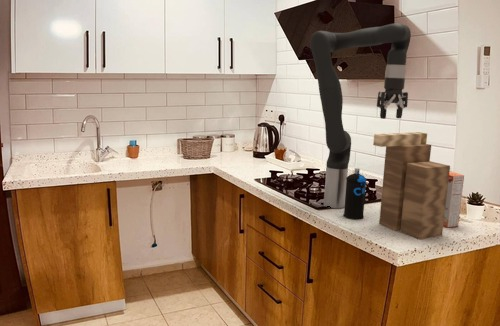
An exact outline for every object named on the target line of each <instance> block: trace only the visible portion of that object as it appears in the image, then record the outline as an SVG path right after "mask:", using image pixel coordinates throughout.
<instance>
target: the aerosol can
mask: <svg viewBox="0 0 500 326" xmlns="http://www.w3.org/2000/svg"><path fill="white" fill-rule="evenodd" d="M360 170H361V169H360V168H358V167H356V168H354V171H353V173H351V174H349V175H347V178H346V180H347V181H346V194H345V207H343V208H344V209H343V217H344V218H346V219H348V220H362V219H364V217H365V216H364V210H365V200H366V199H365V198H366V188H367V187H366V185H367V181H368V180H367V178H366V177H365V176H364V175H363V174H361V173H360Z"/></svg>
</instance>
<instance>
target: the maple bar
mask: <svg viewBox="0 0 500 326" xmlns="http://www.w3.org/2000/svg"><path fill="white" fill-rule="evenodd" d="M427 139H428V133H427V132H418V131H416V132H396V133H393V132H392V133H374V135H373V144H372V145H373V146H376V147H381V148H382V147H383V148H386V147H387V146H402V145H418V144H427V142H428V141H427Z"/></svg>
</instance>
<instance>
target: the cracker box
mask: <svg viewBox="0 0 500 326" xmlns="http://www.w3.org/2000/svg"><path fill="white" fill-rule="evenodd" d="M464 182H465V175H464V174H461V173H457V172H454V171H451V170H450V172H449V180H448V189H447V197H446V206H445V214H444V223H443V228H454V227H459V223H460V214H461V205H462V198H463V189H464Z"/></svg>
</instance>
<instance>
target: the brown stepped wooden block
mask: <svg viewBox="0 0 500 326" xmlns="http://www.w3.org/2000/svg"><path fill="white" fill-rule="evenodd" d="M431 152H432V144H429V143H426V144H418V145H402V146H387V147H385V154H384V155H385V156H384V166H383V176H382V177H383V179H382V189H381V198H380V199H381V200H380V209H379V210H380V211H379V220H378V221H379V222H378V224H379V225H380V226H383V227H386V228H387V229H390V230H393V231H395V232H400V233H402V234H405V235H407V236H410V237H411V238H412V237H413V238H415V239H417V240H423V239H427V238H434V237H438V236H443V230H444V226H443V223H444V214H445V206H446V197H447V189H448V180H449V172H450V171H451V170H450V169H451V165H448V164H444V163H439V162H434V161H431Z"/></svg>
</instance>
